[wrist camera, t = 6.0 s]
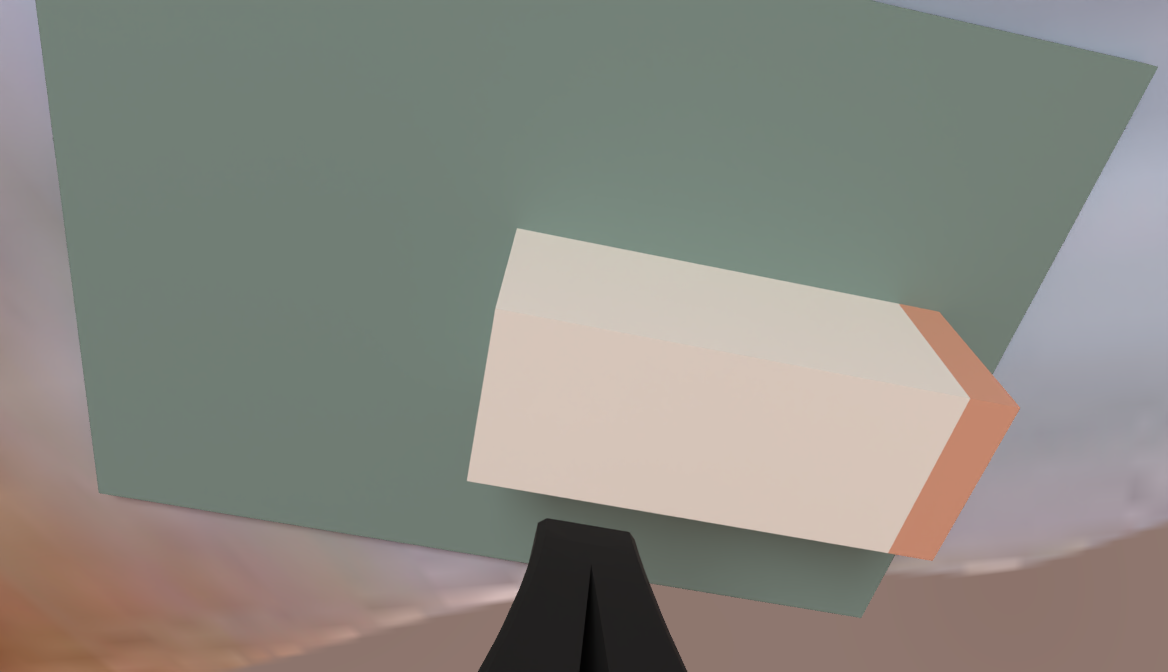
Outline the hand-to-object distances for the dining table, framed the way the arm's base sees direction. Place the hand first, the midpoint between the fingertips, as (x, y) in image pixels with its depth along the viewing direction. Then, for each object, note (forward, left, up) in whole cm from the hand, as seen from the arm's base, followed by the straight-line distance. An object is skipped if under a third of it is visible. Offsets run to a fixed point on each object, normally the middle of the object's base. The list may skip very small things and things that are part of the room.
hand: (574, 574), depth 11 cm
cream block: (-2, 0, -6) cm, 6 cm away
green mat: (-1, 0, -8) cm, 8 cm away
